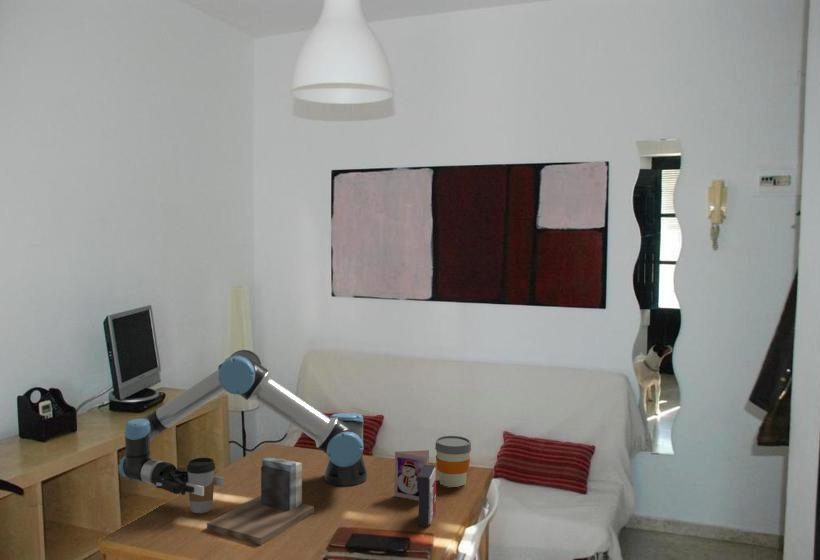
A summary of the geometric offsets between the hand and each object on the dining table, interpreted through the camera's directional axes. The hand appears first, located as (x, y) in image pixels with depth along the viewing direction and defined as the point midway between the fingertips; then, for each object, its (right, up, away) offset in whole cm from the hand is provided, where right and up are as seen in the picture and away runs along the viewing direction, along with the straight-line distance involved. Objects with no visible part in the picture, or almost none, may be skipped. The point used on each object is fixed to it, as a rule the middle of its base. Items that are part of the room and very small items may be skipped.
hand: (213, 486), depth 203 cm
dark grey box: (+65, -10, +1) cm, 66 cm away
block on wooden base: (+15, -10, -2) cm, 18 cm away
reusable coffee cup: (+75, -8, +31) cm, 81 cm away
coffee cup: (-4, -8, +3) cm, 10 cm away
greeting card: (+61, -9, +19) cm, 64 cm away
